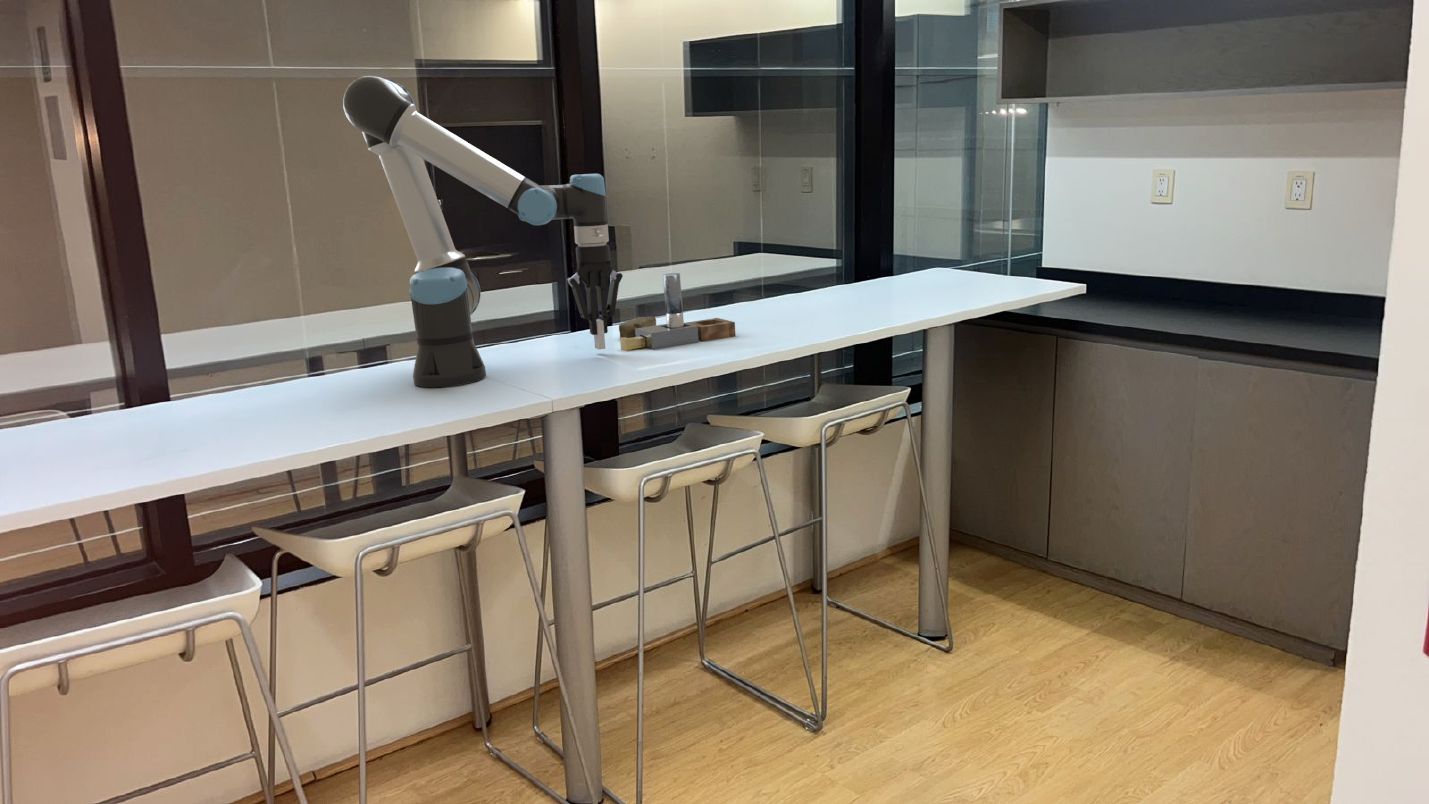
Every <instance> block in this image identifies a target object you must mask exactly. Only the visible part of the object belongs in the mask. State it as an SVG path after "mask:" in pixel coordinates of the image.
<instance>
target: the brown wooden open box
mask: <svg viewBox="0 0 1429 804" xmlns="http://www.w3.org/2000/svg"><path fill="white" fill-rule="evenodd" d="M685 323H687V324H691V325H695V326H698V341H699V342H708V341H715V340H721V339H729V338H734V337H736V322H735V321H733V320H727V319H723V318H720V317H719V318H718V317H714V318H708V319H707V318H706V319H701V320H695V321H688V322H685Z"/></svg>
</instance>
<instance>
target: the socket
mask: <svg viewBox="0 0 1429 804" xmlns="http://www.w3.org/2000/svg"><path fill="white" fill-rule="evenodd" d="M635 334H636V337H639V336H646V338H647V347H646V348H647V349H649V350H652V351H653V350H659V349H666V348H673V347H677V346H679V347H680V346H685V345H690V344H697V343H699V342H700V341H698V326H695V325H691V324H687V323H686V322H684V327H680V328H674V329H668V328H667V323H664V324H656V326H649V327H643V328H636V329H635Z"/></svg>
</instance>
